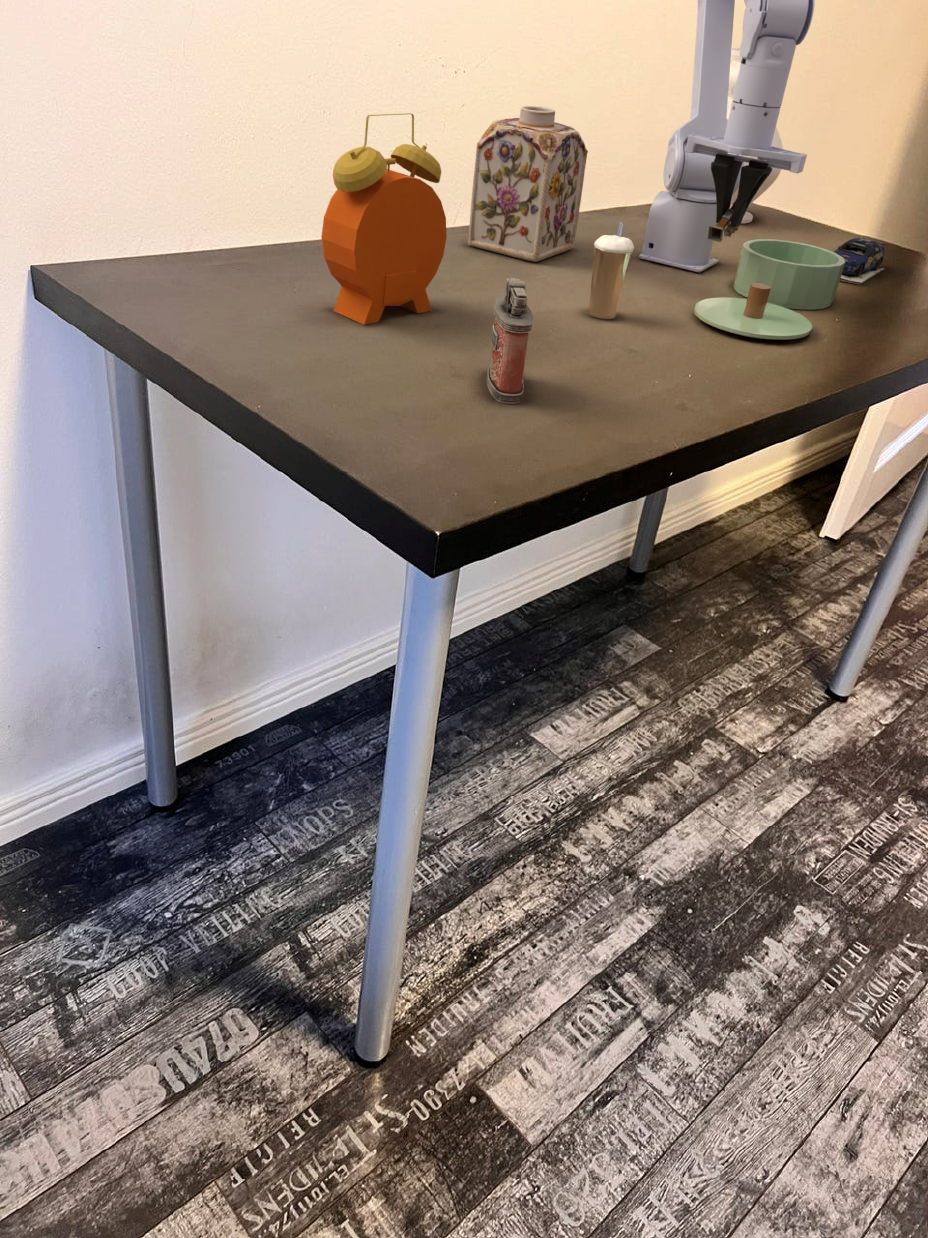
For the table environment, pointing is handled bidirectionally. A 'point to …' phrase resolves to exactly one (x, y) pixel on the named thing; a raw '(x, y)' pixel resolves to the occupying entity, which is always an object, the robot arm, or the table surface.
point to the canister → (790, 272)
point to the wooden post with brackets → (722, 226)
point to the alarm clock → (383, 230)
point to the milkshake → (609, 273)
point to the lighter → (509, 343)
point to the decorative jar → (527, 186)
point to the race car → (860, 259)
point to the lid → (753, 316)
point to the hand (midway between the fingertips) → (727, 223)
